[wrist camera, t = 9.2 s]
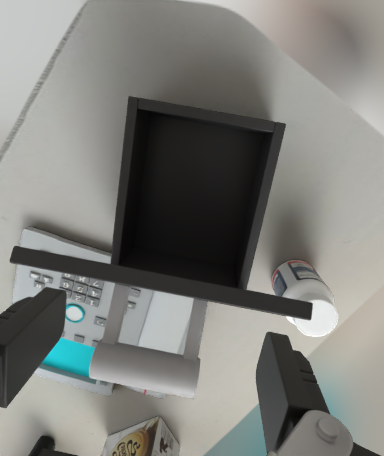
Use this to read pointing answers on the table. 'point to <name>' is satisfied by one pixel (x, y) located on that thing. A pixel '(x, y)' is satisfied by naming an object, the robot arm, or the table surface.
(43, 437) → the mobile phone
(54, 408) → the table surface
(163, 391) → the lid
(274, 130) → the black storage bin
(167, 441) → the coffee box
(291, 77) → the table surface
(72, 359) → the office telephone
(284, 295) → the pill bottle
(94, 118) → the table surface
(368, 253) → the table surface
